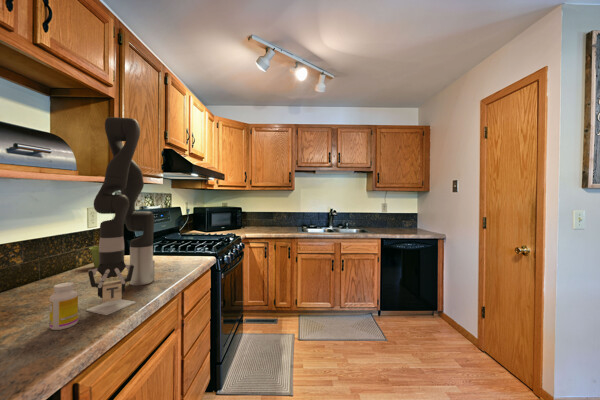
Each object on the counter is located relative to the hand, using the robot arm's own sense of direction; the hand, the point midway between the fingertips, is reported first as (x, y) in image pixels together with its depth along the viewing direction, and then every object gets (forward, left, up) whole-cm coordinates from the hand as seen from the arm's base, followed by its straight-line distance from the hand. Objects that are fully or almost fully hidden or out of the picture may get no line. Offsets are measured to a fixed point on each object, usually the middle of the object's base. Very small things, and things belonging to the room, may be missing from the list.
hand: (111, 295), depth 97 cm
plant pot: (-37, -59, -5) cm, 70 cm away
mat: (0, 0, -4) cm, 4 cm away
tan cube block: (0, 0, -1) cm, 1 cm away
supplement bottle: (+15, 0, -4) cm, 16 cm away
